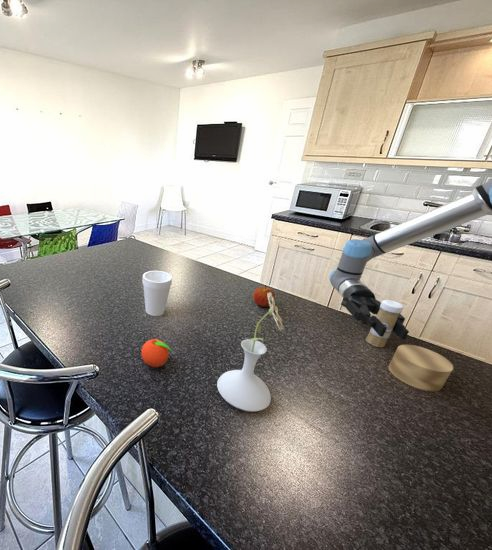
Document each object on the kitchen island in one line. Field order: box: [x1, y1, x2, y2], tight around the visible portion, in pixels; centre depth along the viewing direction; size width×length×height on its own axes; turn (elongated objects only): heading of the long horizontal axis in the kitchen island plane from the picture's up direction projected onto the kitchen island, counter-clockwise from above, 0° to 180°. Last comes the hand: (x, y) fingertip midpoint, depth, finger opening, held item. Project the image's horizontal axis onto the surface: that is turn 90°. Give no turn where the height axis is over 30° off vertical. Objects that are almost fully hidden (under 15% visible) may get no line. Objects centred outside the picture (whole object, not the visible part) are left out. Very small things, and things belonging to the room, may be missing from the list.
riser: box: [388, 344, 454, 392], centre depth 72 cm, size 10×10×6 cm
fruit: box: [252, 284, 276, 308], centre depth 103 cm, size 7×7×8 cm
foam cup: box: [142, 270, 173, 317], centre depth 97 cm, size 10×9×13 cm
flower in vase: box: [216, 292, 285, 413], centre depth 62 cm, size 13×11×25 cm
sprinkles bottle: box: [365, 299, 404, 348], centre depth 83 cm, size 5×5×14 cm
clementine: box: [140, 338, 174, 368], centre depth 74 cm, size 8×7×7 cm
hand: (394, 333), depth 78 cm, fingers closed on sprinkles bottle, 4 cm apart
